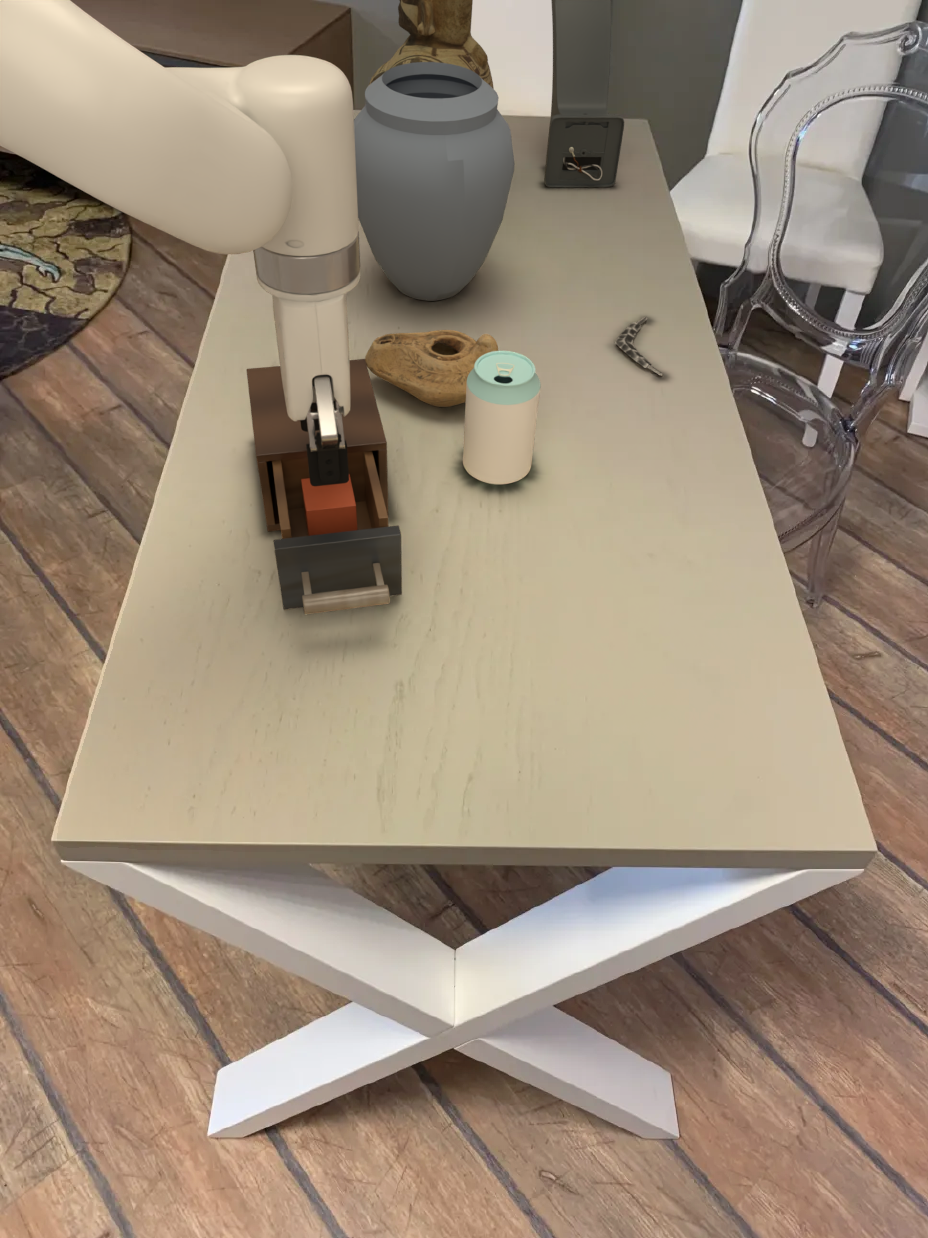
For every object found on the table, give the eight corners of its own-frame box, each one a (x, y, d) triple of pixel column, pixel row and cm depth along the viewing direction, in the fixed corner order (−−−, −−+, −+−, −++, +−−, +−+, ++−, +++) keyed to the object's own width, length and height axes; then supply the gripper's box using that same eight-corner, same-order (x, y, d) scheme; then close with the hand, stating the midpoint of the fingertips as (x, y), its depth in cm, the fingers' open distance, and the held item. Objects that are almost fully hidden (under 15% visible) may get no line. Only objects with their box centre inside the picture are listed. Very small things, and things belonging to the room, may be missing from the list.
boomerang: (608, 311, 117) (647, 314, 117) (607, 317, 118) (646, 320, 118) (622, 370, 109) (664, 373, 109) (620, 375, 109) (663, 378, 109)
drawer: (410, 631, 81) (410, 570, 75) (288, 647, 79) (278, 587, 73) (380, 502, 92) (378, 442, 86) (272, 514, 90) (262, 453, 84)
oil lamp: (367, 363, 109) (365, 300, 103) (497, 366, 110) (501, 303, 104) (363, 421, 102) (360, 356, 96) (502, 423, 102) (507, 359, 96)
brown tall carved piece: (328, 178, 141) (312, -63, 119) (425, 140, 152) (427, -88, 130) (420, 221, 133) (422, -29, 111) (515, 177, 144) (534, -58, 122)
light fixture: (592, 141, 154) (616, -34, 136) (615, 188, 143) (644, 3, 125) (527, 141, 153) (542, -35, 135) (544, 188, 142) (564, 2, 124)
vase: (410, 235, 130) (409, 37, 112) (532, 278, 124) (552, 75, 105) (322, 294, 119) (305, 84, 101) (451, 344, 112) (459, 129, 94)
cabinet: (388, 517, 91) (386, 442, 85) (267, 531, 89) (255, 455, 83) (368, 433, 100) (365, 358, 93) (257, 444, 98) (246, 368, 92)
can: (543, 476, 97) (557, 376, 88) (485, 497, 94) (492, 396, 85) (507, 438, 101) (516, 339, 92) (450, 458, 98) (453, 357, 89)
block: (310, 547, 85) (305, 510, 82) (305, 515, 88) (300, 478, 85) (358, 541, 86) (356, 505, 83) (351, 510, 89) (349, 473, 86)
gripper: (246, 205, 73) (272, 399, 86) (263, 324, 61) (289, 527, 75) (343, 199, 74) (354, 392, 87) (377, 316, 63) (383, 516, 76)
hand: (324, 453), depth 81 cm, fingers open, 6 cm apart
